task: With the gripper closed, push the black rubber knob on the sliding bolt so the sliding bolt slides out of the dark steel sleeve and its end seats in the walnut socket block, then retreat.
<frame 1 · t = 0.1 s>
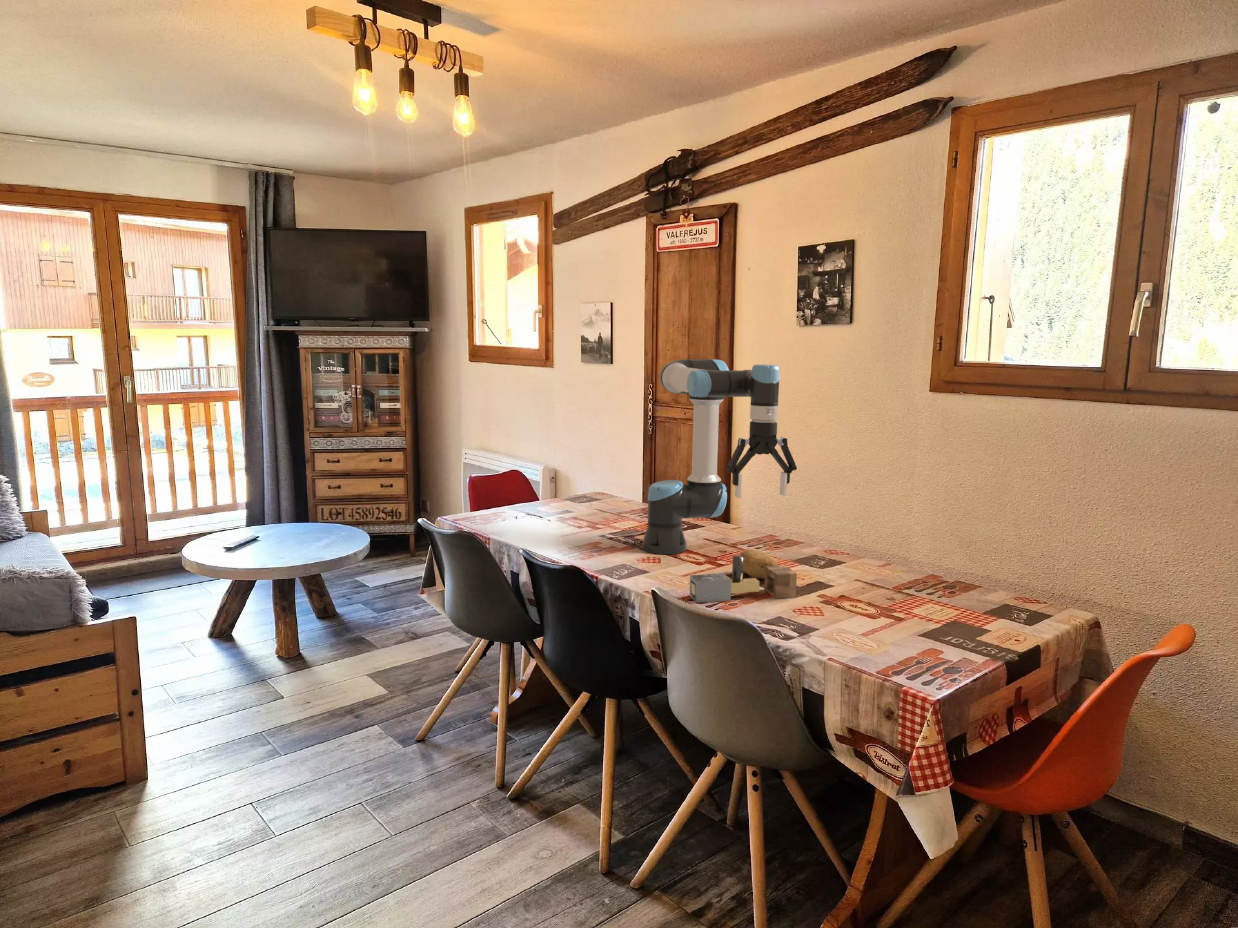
hand: (760, 496, 217), 28 cm above the table, fingers open, 13 cm apart
sliding bolt: (725, 574, 216), point 6 cm above the table, slide at 0.0 cm
potato: (758, 578, 235), on the table
sleeve: (709, 598, 216), on the table
socket: (779, 593, 220), on the table
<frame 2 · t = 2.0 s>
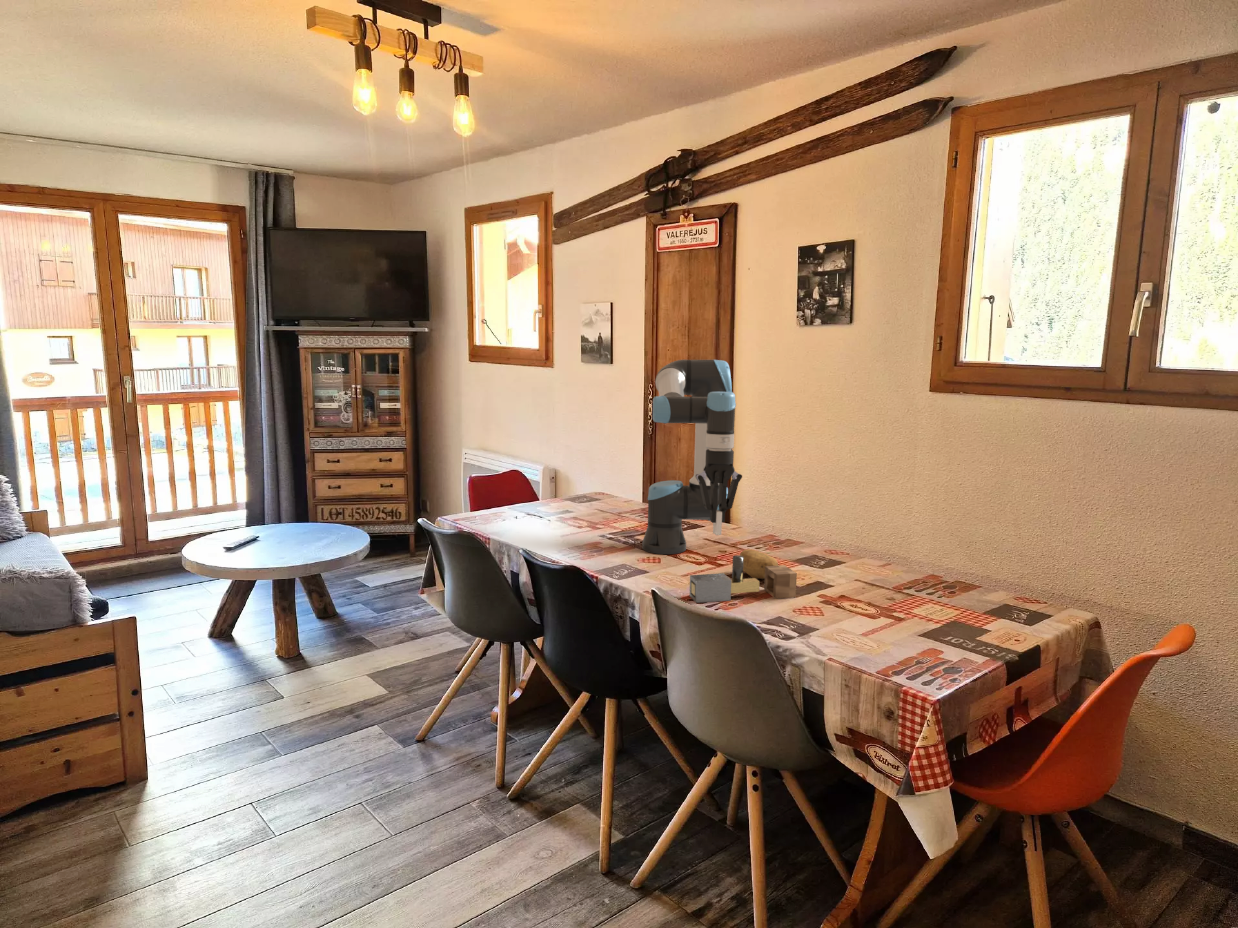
hand: (717, 533, 213), 18 cm above the table, fingers closed
nothing on the table moved.
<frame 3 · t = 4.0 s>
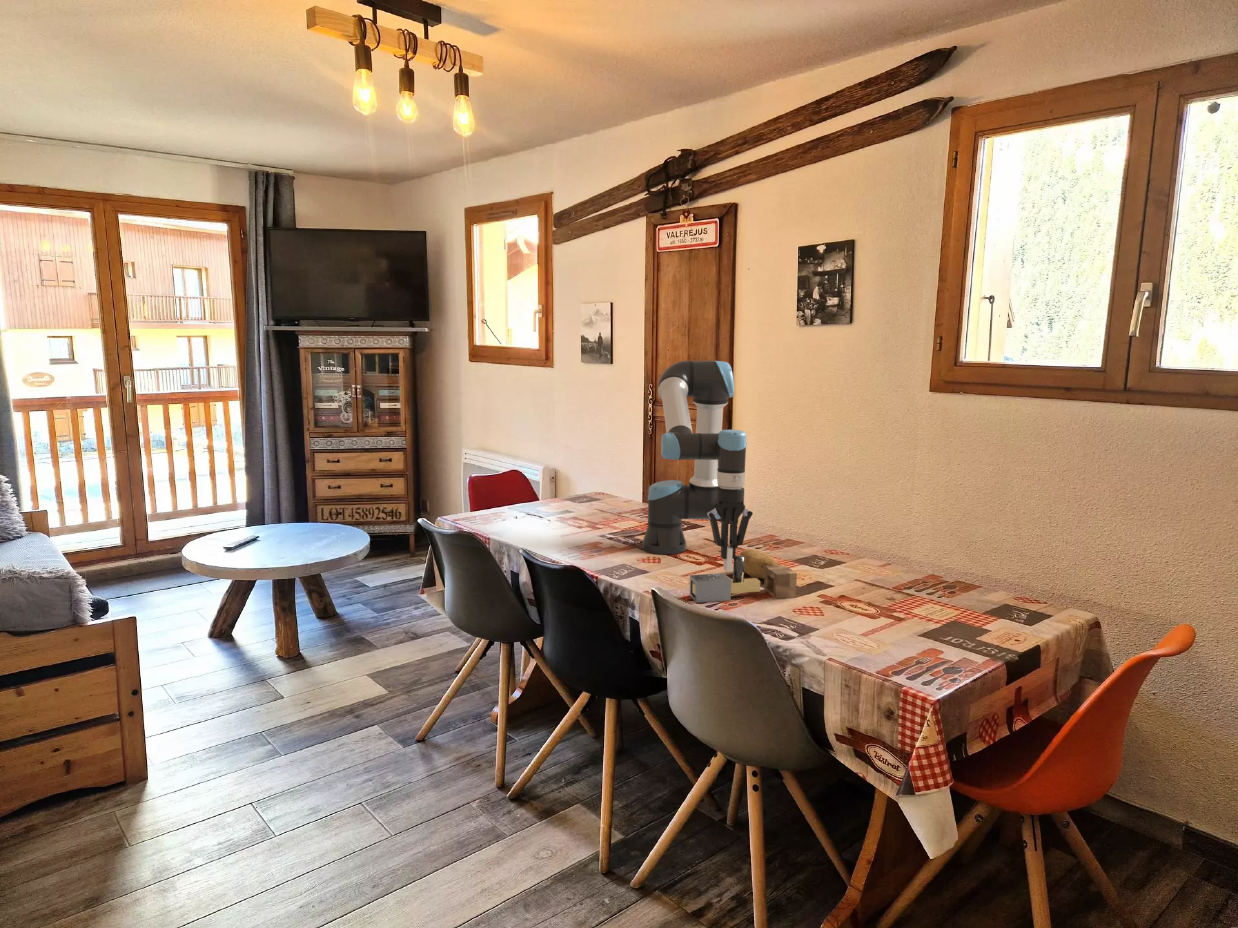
hand: (727, 569, 215), 8 cm above the table, fingers closed
sliding bolt: (726, 574, 216), point 7 cm above the table, slide at 0.3 cm, touching gripper
everything else where it was.
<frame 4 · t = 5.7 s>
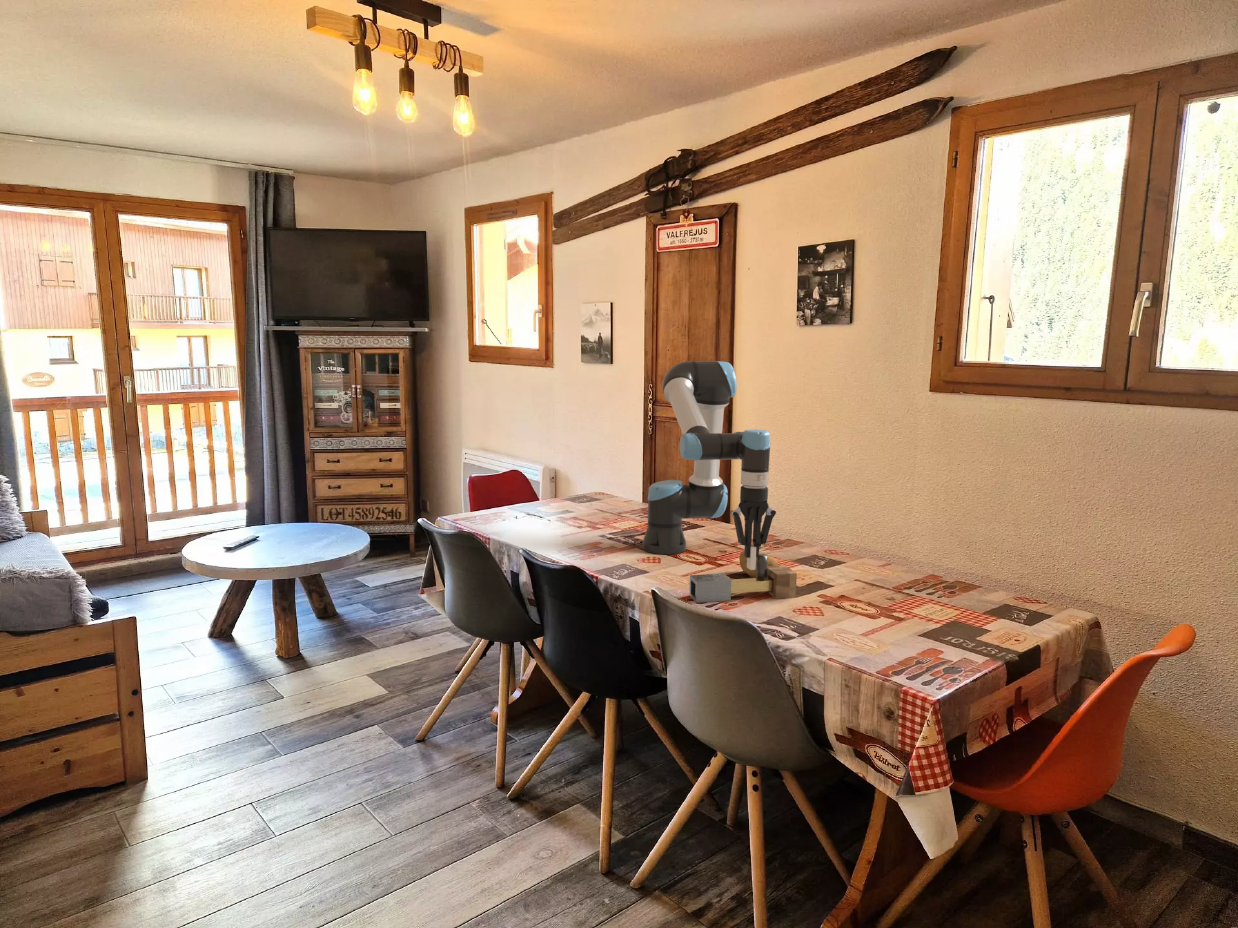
hand: (751, 568, 217), 8 cm above the table, fingers closed
sliding bolt: (750, 573, 217), point 6 cm above the table, slide at 7.2 cm, touching gripper
everything else where it was.
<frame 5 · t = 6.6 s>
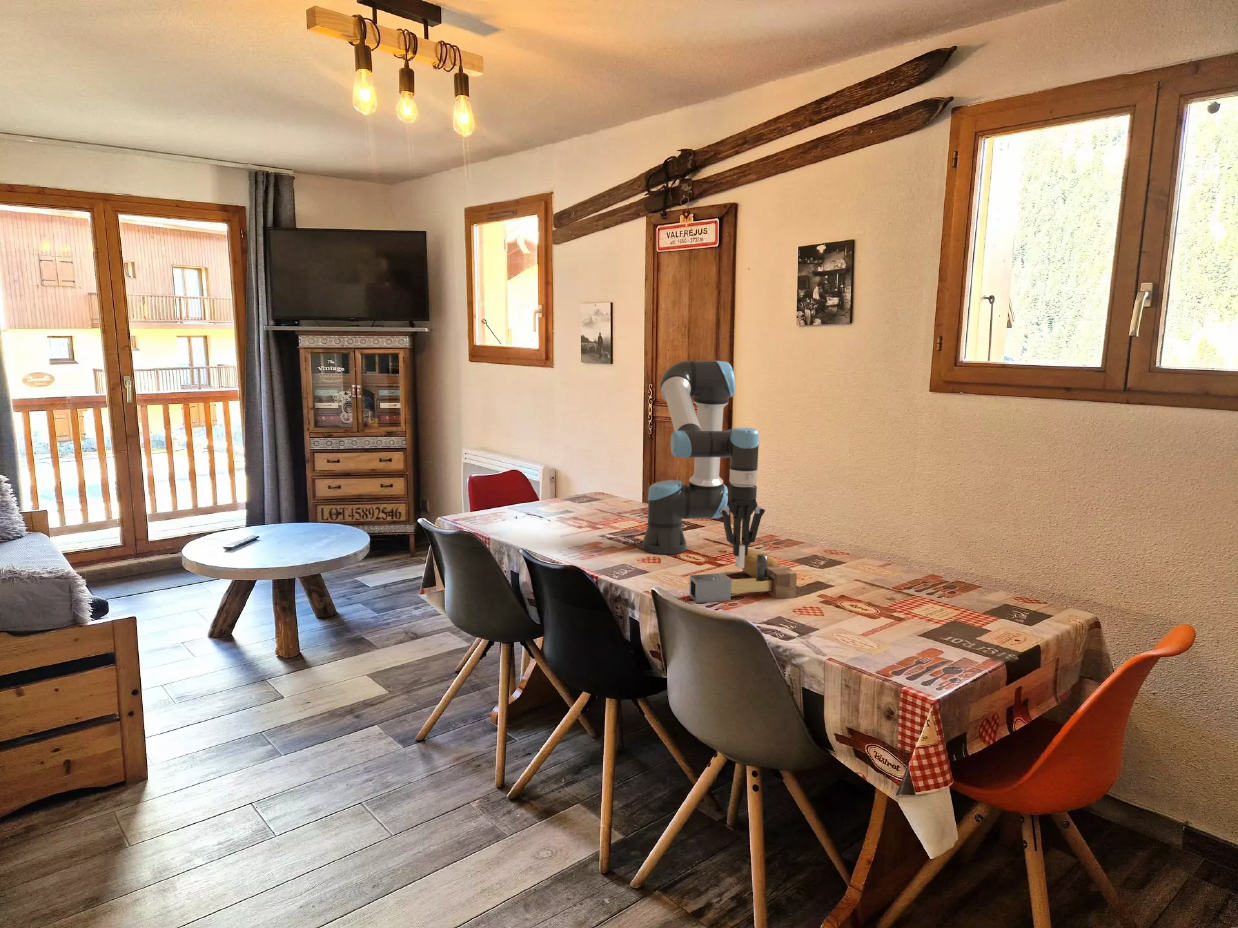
hand: (739, 566, 216), 8 cm above the table, fingers closed
sliding bolt: (750, 573, 217), point 6 cm above the table, slide at 7.3 cm
everything else where it was.
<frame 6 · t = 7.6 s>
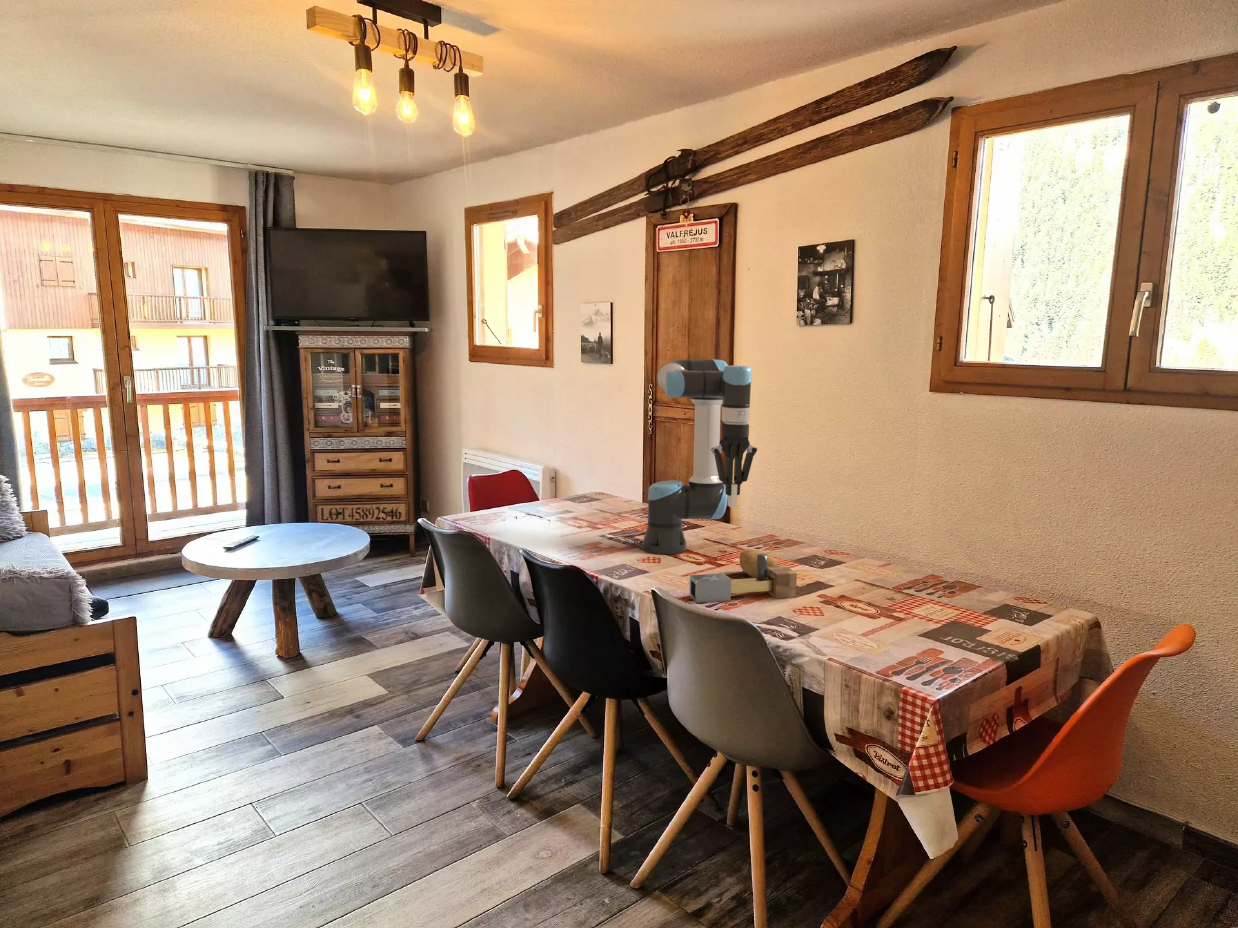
hand: (732, 506, 216), 25 cm above the table, fingers closed
nothing on the table moved.
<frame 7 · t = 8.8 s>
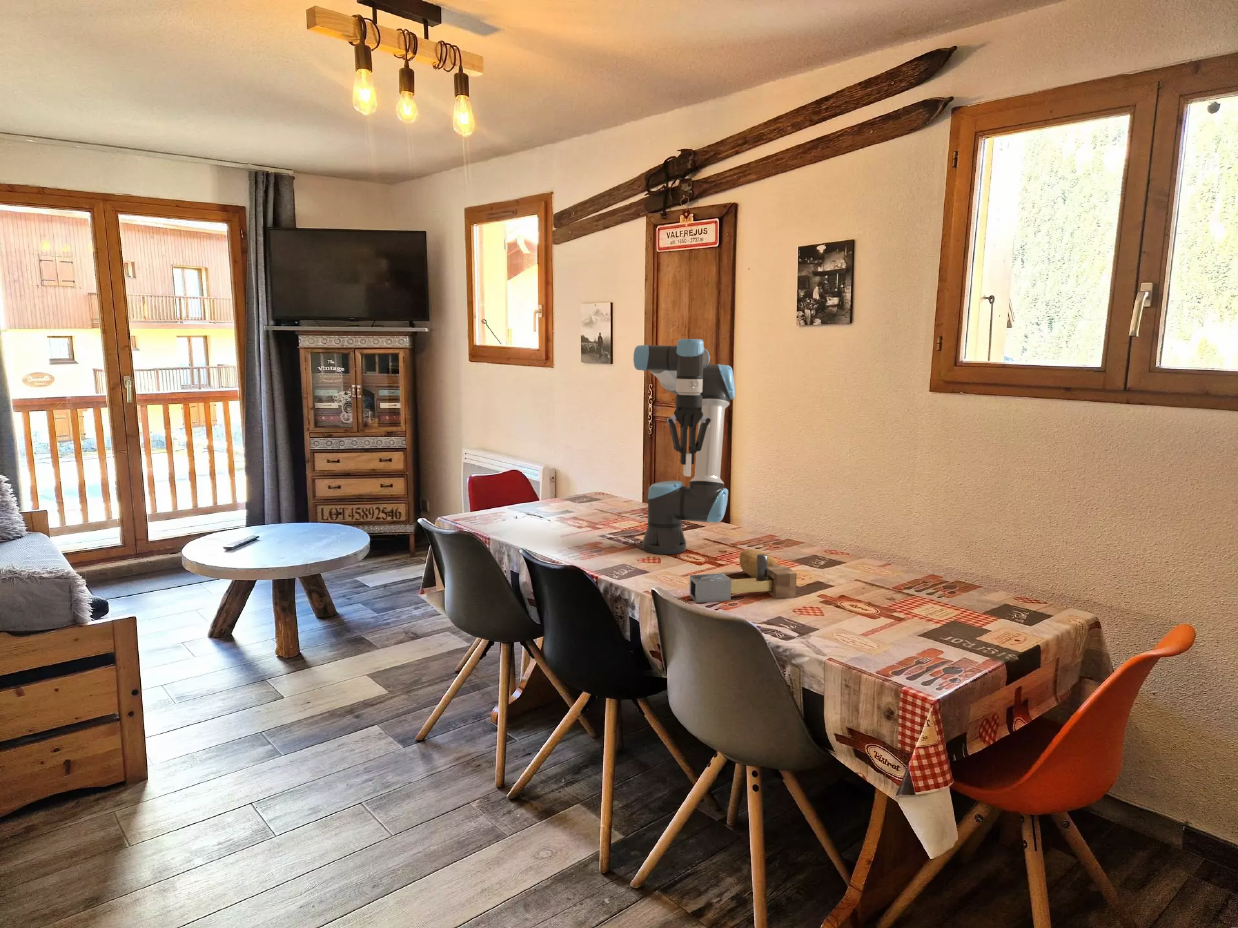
hand: (687, 475, 223), 32 cm above the table, fingers closed
nothing on the table moved.
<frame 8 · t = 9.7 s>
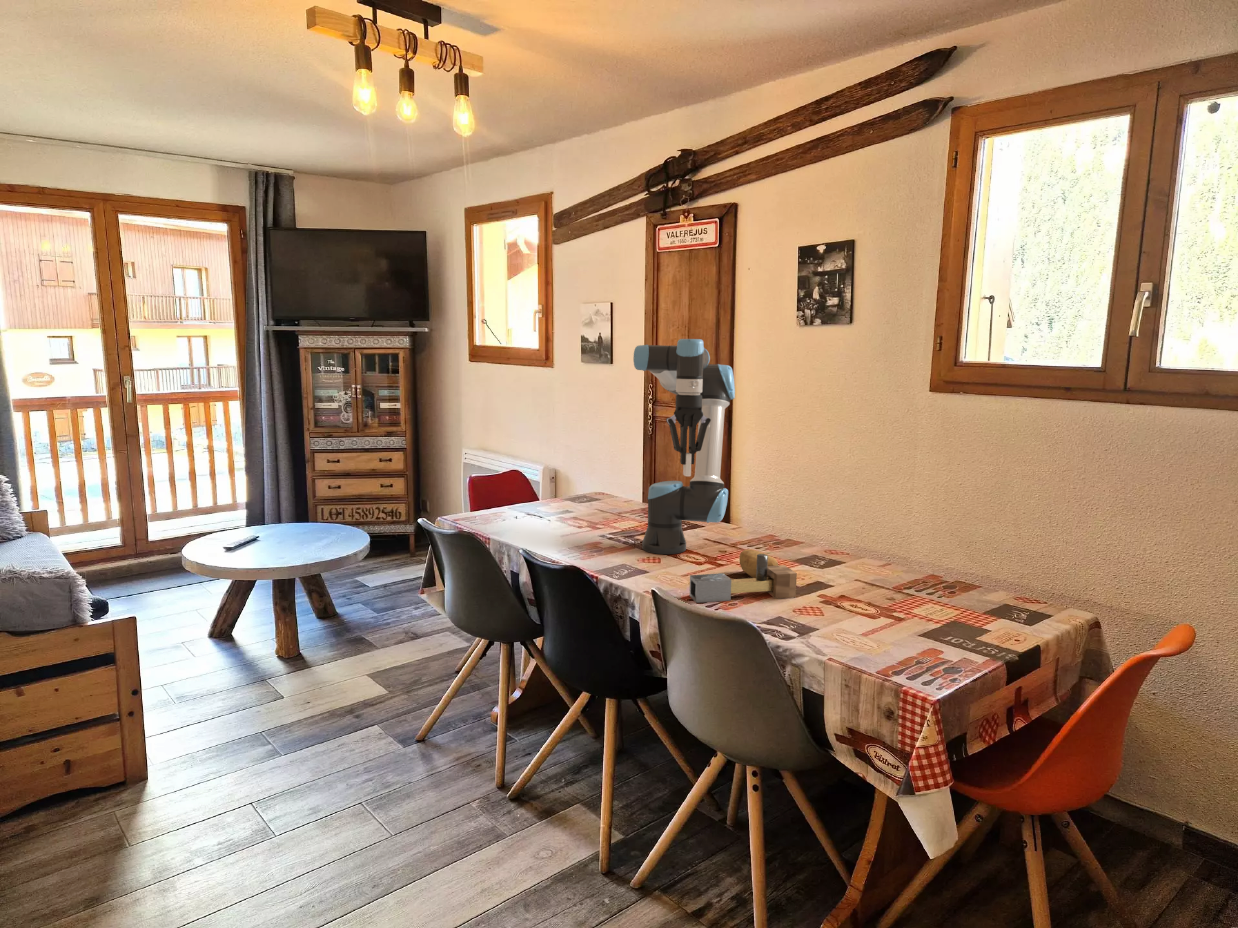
hand: (686, 475, 223), 32 cm above the table, fingers closed
nothing on the table moved.
at the end: sliding bolt slide at 7.3 cm; sliding bolt touching nothing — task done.
